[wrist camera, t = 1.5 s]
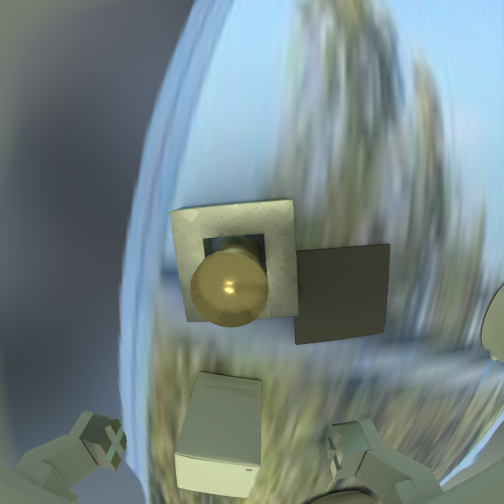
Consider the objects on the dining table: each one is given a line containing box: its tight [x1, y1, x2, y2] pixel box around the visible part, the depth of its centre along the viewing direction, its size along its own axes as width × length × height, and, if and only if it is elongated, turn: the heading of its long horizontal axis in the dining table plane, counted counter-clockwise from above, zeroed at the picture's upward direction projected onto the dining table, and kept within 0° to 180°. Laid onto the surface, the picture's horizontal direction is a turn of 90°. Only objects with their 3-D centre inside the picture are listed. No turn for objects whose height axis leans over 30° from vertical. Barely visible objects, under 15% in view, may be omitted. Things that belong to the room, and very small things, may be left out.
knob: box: [190, 235, 269, 327], centre depth 27 cm, size 6×6×11 cm
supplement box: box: [175, 372, 262, 498], centre depth 30 cm, size 9×9×15 cm
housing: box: [170, 198, 298, 322], centre depth 30 cm, size 12×12×4 cm
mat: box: [295, 244, 390, 345], centre depth 33 cm, size 12×12×1 cm
